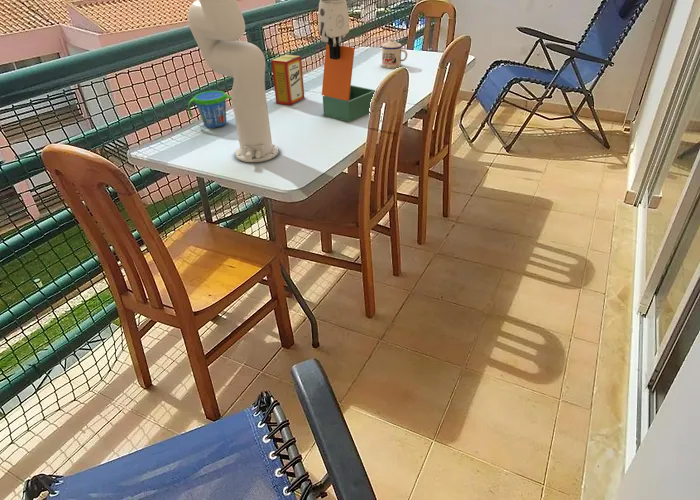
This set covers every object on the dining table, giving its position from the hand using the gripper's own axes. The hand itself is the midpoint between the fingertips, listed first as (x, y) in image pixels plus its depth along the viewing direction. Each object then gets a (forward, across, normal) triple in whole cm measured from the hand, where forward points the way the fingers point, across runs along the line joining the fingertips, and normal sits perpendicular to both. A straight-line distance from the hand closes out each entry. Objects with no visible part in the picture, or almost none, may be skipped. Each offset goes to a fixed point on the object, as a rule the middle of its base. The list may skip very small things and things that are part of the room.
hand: (335, 58), depth 160 cm
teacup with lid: (+20, +67, +23) cm, 74 cm away
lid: (+5, +1, 0) cm, 5 cm away
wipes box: (+20, +7, 0) cm, 21 cm away
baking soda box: (+20, +4, +28) cm, 34 cm away
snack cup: (+20, -29, +31) cm, 47 cm away
